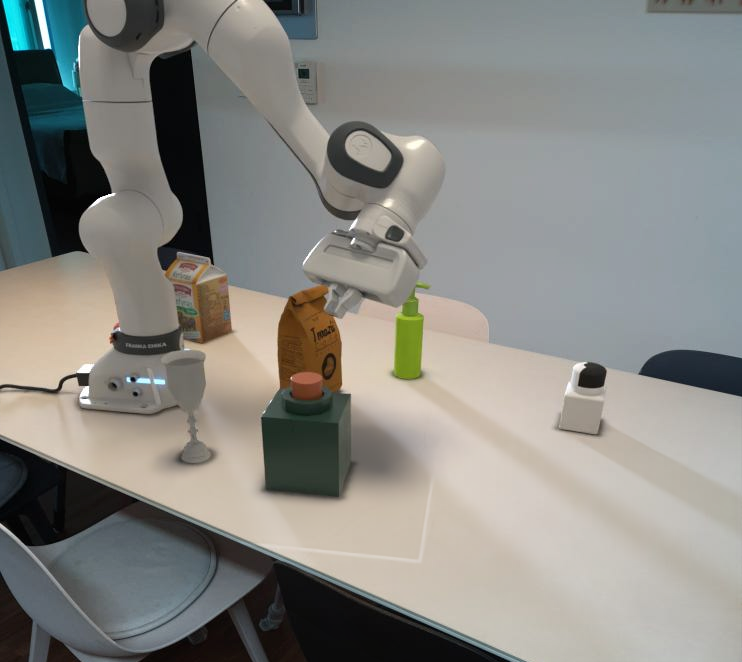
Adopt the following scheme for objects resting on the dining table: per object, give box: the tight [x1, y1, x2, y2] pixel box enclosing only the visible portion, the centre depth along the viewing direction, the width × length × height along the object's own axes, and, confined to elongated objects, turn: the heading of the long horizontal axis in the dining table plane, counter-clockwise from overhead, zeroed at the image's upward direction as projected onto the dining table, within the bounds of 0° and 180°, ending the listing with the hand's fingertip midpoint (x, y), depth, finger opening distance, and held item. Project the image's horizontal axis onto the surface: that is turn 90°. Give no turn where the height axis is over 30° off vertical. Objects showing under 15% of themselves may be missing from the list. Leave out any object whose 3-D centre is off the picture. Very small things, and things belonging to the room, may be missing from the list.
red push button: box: [291, 372, 323, 400], centre depth 112 cm, size 5×5×3 cm
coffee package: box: [276, 284, 343, 393], centre depth 142 cm, size 10×12×22 cm
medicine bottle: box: [558, 361, 608, 435], centre depth 136 cm, size 7×7×12 cm
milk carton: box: [164, 251, 233, 344], centre depth 174 cm, size 11×11×19 cm
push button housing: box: [260, 386, 352, 497], centre depth 116 cm, size 12×11×15 cm
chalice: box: [161, 349, 212, 464], centre depth 121 cm, size 7×7×18 cm
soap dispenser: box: [393, 281, 432, 380], centre depth 154 cm, size 6×7×20 cm
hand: (332, 314), depth 110 cm, fingers closed
